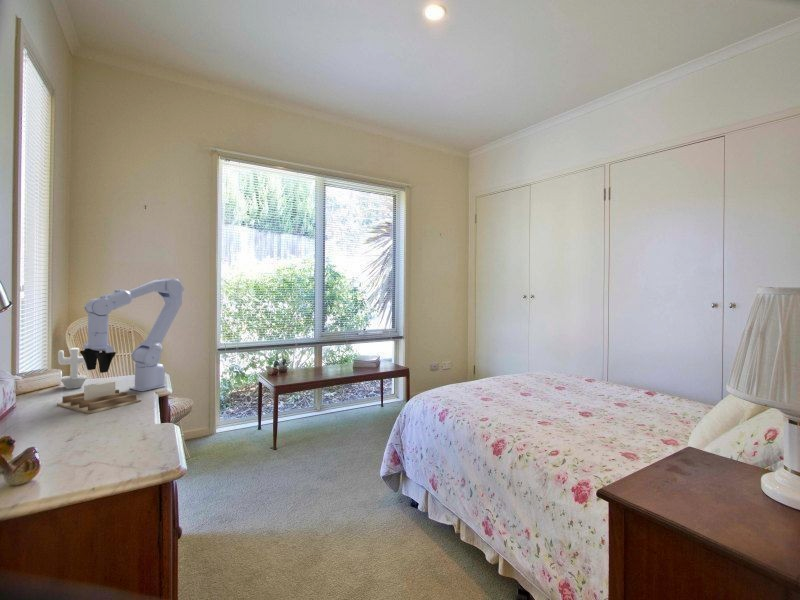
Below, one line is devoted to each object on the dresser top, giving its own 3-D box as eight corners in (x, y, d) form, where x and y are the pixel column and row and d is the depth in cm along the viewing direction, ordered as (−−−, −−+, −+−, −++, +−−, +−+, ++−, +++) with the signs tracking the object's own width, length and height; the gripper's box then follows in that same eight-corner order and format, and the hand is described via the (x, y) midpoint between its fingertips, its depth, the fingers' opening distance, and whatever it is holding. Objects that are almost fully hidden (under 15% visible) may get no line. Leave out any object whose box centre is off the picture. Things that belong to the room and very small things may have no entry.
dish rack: (110, 393, 141) (110, 386, 141) (141, 401, 134) (141, 393, 134) (57, 404, 127) (57, 396, 127) (87, 414, 119) (87, 405, 119)
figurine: (89, 387, 148) (90, 348, 148) (57, 390, 143) (57, 350, 142) (89, 383, 154) (90, 345, 154) (58, 386, 148) (58, 347, 148)
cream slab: (110, 397, 134) (111, 380, 134) (115, 399, 133) (115, 381, 133) (84, 403, 127) (84, 385, 127) (88, 404, 126) (88, 386, 126)
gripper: (73, 331, 135) (72, 370, 136) (97, 335, 129) (96, 375, 130) (95, 330, 142) (95, 367, 142) (120, 333, 136) (119, 371, 136)
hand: (97, 370), depth 136 cm, fingers open, 7 cm apart
